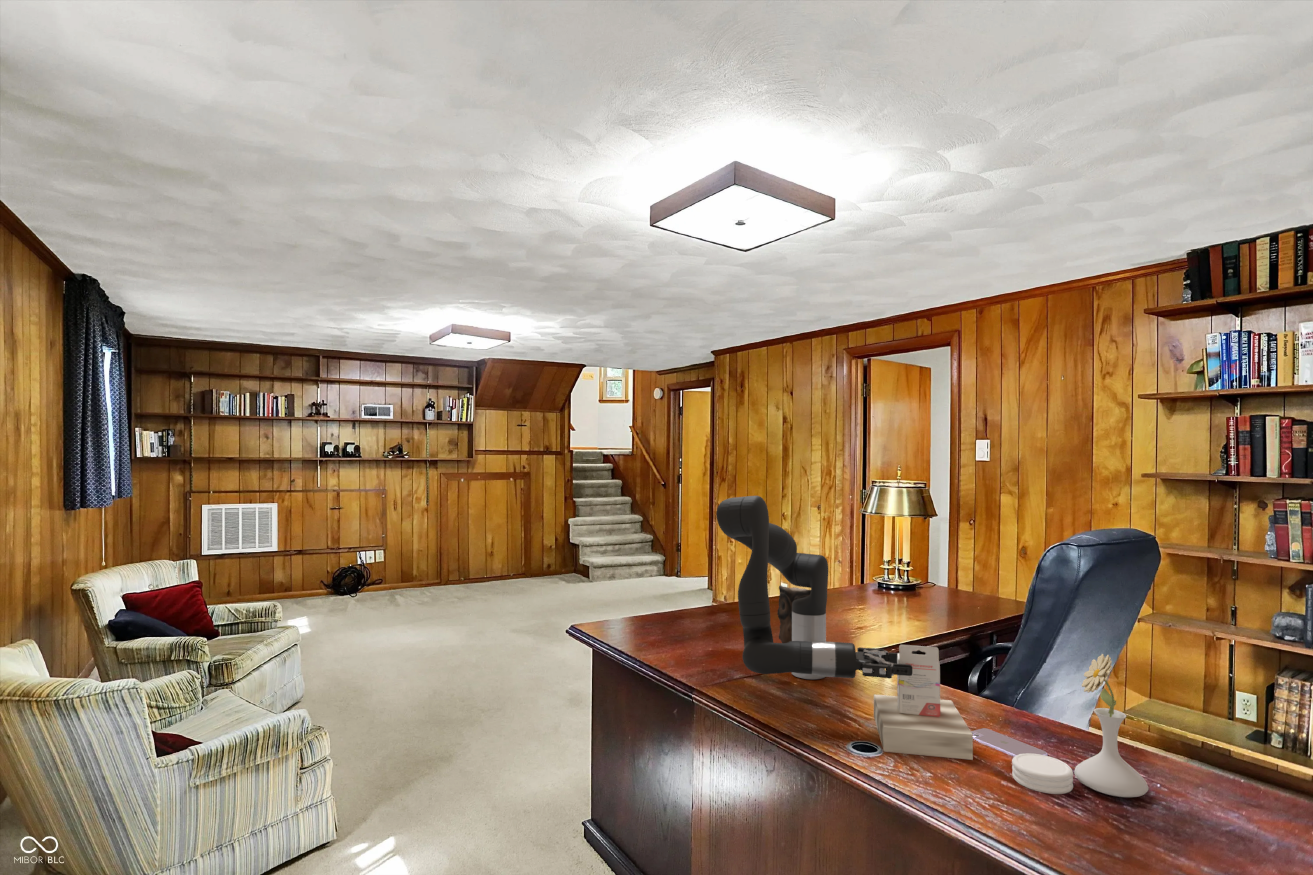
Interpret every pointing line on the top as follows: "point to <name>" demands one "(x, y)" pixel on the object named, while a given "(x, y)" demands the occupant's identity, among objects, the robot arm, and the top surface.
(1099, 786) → the flower in vase
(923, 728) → the plinth
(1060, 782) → the coaster
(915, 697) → the ink cartridge box
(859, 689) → the top surface
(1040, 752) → the mobile phone
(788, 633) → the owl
